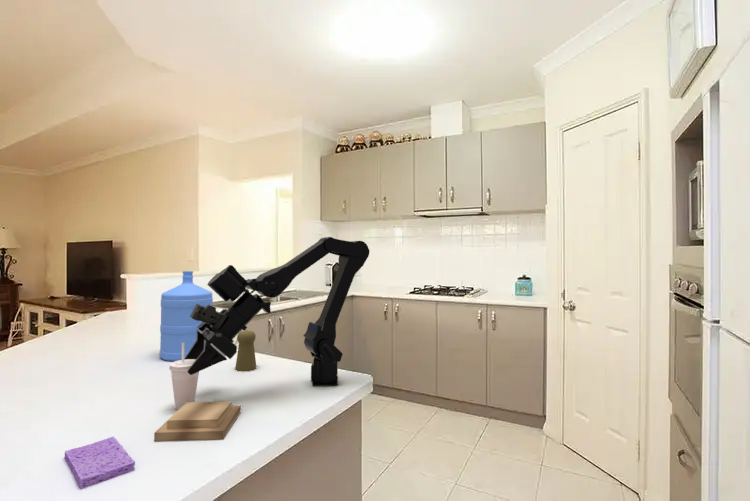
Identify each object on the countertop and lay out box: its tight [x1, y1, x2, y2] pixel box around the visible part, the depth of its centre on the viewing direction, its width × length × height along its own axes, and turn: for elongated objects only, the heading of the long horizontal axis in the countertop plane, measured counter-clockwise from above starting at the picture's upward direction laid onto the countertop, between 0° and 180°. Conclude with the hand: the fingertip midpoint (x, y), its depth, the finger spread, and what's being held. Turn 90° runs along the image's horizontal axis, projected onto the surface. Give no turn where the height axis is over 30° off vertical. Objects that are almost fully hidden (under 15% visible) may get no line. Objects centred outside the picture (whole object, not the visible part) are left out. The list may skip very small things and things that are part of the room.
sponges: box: [64, 436, 136, 490], centre depth 62 cm, size 7×13×2 cm, turn 47°
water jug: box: [159, 270, 214, 362], centre depth 129 cm, size 16×16×28 cm
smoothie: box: [168, 343, 200, 411], centre depth 86 cm, size 6×6×14 cm
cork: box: [234, 330, 257, 372], centre depth 115 cm, size 6×6×11 cm
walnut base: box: [153, 400, 242, 442], centre depth 76 cm, size 12×12×3 cm
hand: (186, 368), depth 86 cm, fingers open, 9 cm apart
